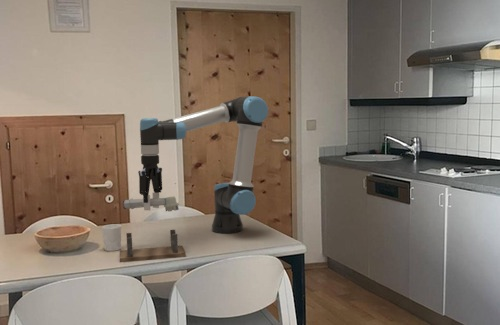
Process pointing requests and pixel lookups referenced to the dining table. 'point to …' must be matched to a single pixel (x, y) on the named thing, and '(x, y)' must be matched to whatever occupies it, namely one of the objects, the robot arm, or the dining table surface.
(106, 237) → the white cup
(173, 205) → the grey handled tool
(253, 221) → the dining table surface
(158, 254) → the hook board
